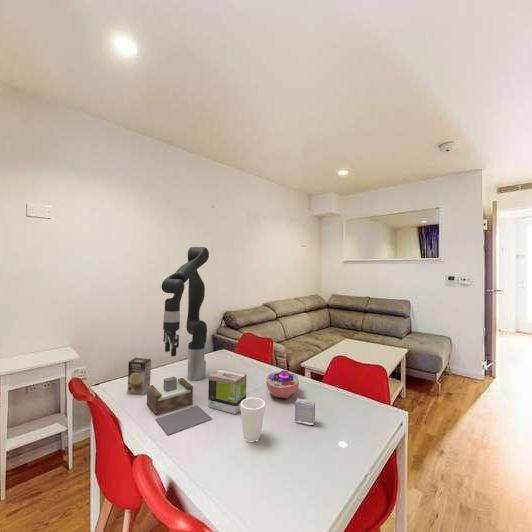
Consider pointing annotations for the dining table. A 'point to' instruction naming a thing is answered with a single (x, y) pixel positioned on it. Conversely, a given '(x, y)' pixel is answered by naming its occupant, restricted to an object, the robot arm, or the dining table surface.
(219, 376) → the tea box
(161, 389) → the cover plate
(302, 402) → the medicine box
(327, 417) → the dining table surface
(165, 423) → the rubber mat
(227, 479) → the dining table surface
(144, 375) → the coffee box
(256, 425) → the foam cup
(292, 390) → the cell model
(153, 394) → the walnut box
